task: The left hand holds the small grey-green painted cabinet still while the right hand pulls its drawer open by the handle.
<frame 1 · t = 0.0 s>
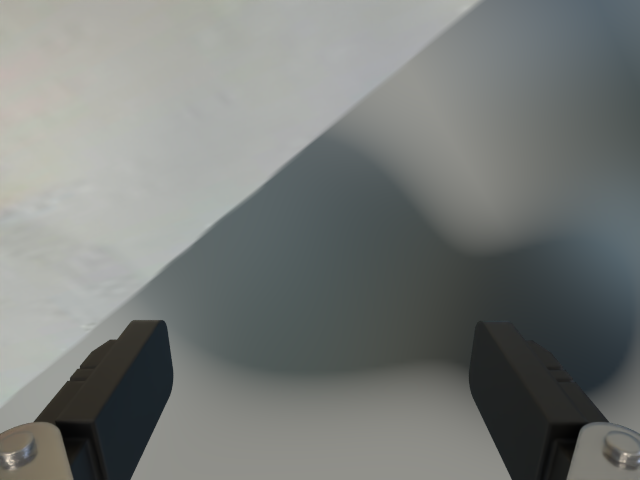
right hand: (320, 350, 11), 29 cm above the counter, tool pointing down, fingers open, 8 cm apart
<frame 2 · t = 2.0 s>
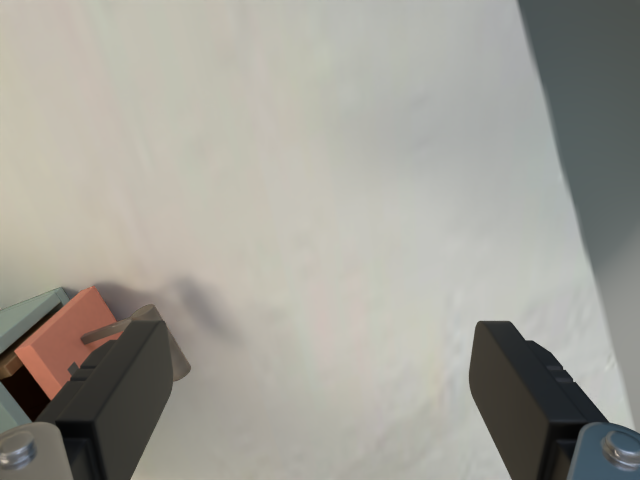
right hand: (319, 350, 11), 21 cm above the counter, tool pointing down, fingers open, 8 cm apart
cabinet: (26, 364, 37), on the counter
drawer: (61, 378, 31), point 5 cm above the counter, slide at 1.9 cm
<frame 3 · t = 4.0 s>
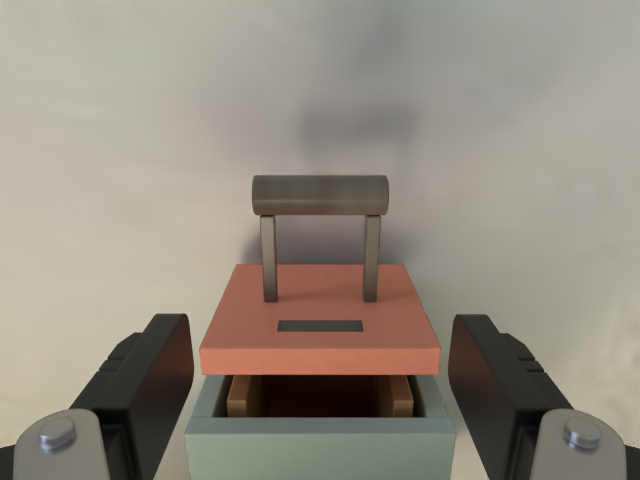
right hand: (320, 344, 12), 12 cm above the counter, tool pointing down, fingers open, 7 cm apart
cabinet: (319, 400, 28), on the counter, touching left hand
drawer: (320, 359, 21), point 5 cm above the counter, slide at 1.9 cm
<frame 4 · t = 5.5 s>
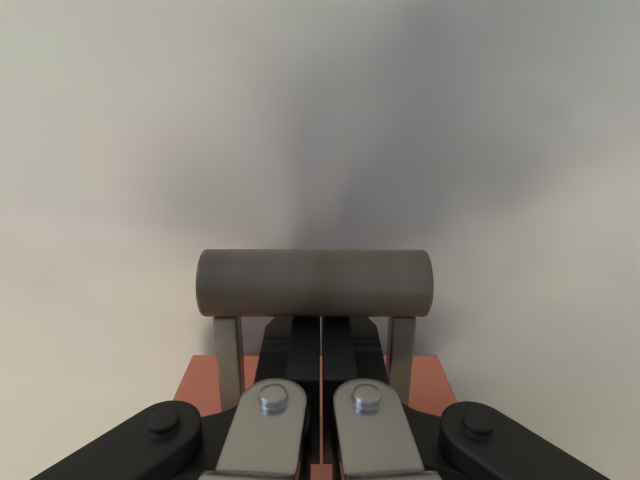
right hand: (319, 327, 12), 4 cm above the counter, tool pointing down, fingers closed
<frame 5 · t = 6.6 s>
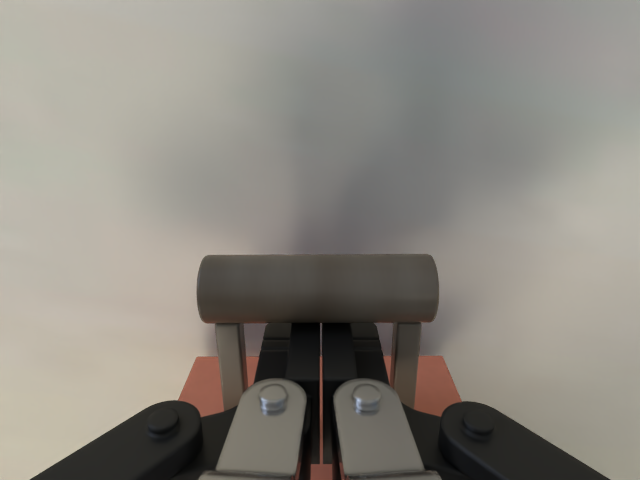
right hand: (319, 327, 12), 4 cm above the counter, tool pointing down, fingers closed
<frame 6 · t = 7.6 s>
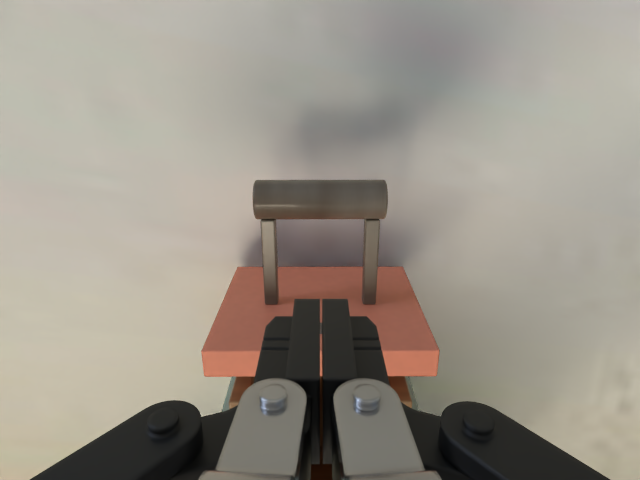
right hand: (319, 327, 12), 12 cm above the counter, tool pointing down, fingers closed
drawer: (320, 361, 21), point 5 cm above the counter, slide at 5.3 cm
when the left hand's fingers open (5 cm above the counter, at t = 8.2 s): cabinet stays where it is, on the counter.
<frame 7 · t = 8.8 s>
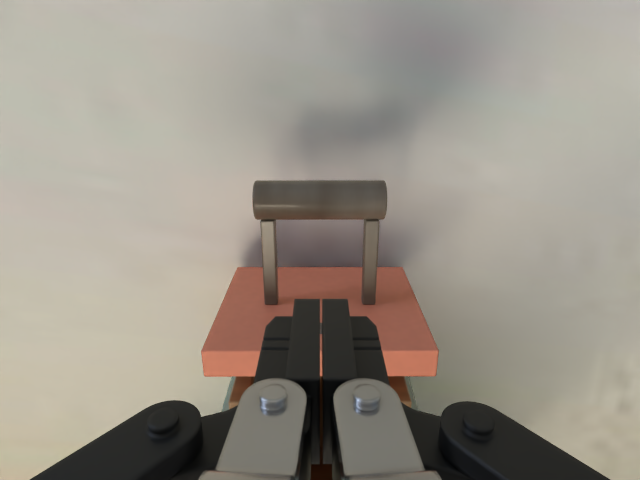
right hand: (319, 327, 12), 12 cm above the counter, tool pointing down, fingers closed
drawer: (320, 361, 21), point 5 cm above the counter, slide at 5.3 cm
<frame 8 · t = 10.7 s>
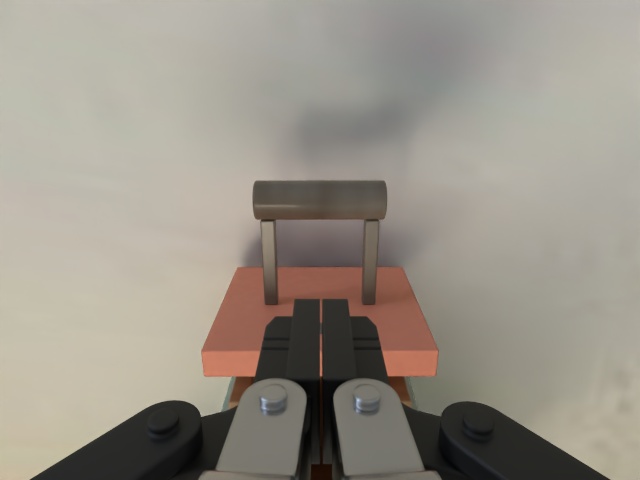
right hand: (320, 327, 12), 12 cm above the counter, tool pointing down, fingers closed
drawer: (320, 361, 21), point 5 cm above the counter, slide at 5.3 cm
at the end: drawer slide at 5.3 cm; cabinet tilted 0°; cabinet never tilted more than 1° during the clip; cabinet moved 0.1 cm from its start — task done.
